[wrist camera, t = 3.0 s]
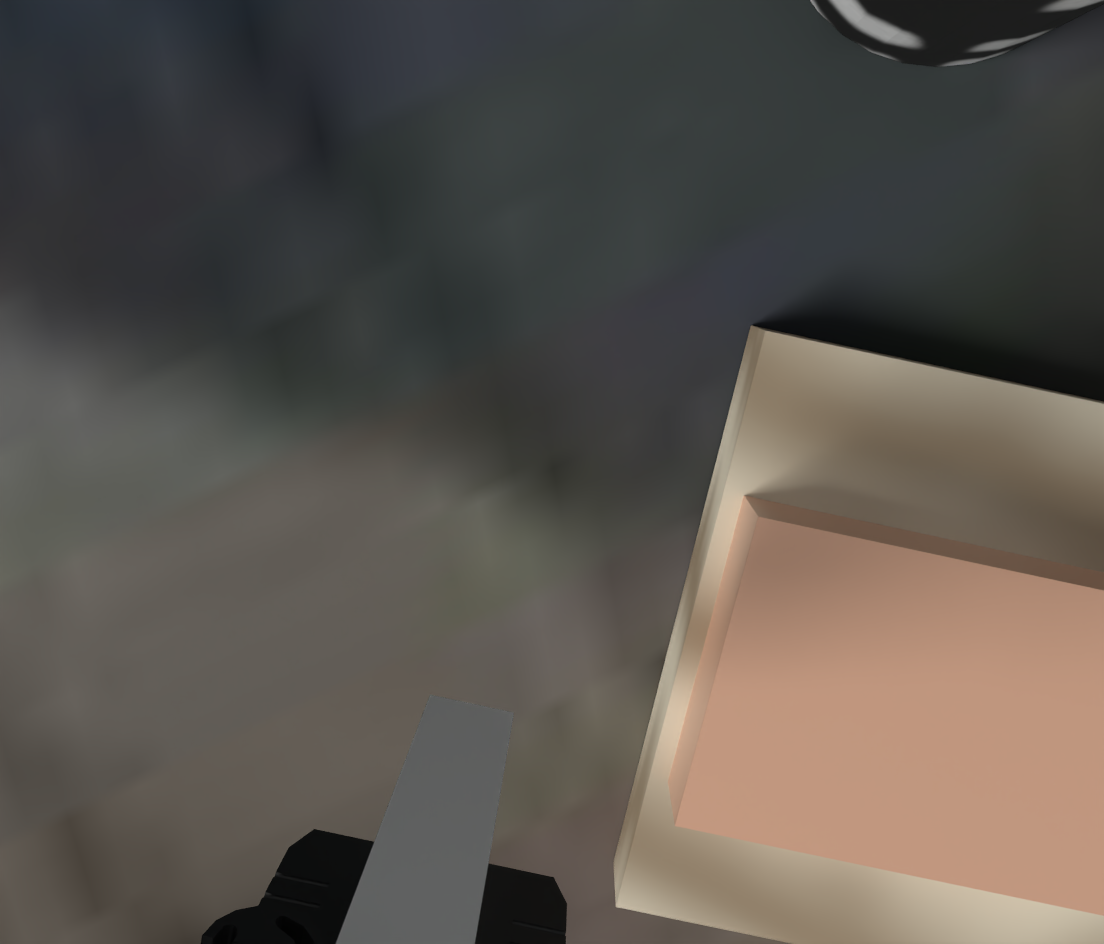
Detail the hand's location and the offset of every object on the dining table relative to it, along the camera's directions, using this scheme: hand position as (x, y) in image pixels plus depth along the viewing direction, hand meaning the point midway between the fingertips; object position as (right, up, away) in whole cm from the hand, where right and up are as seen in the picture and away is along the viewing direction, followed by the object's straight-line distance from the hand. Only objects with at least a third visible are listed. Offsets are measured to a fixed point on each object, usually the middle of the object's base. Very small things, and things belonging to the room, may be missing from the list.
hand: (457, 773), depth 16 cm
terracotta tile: (+11, 0, +8) cm, 13 cm away
